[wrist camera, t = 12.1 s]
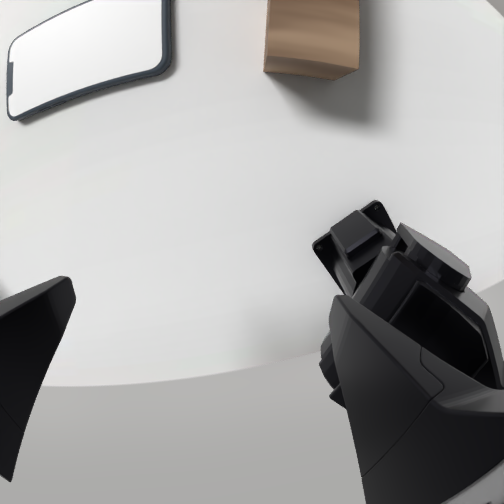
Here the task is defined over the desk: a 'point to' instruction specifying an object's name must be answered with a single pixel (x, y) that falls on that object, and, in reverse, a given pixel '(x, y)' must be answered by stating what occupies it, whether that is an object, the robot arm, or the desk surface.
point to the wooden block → (312, 37)
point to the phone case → (87, 52)
